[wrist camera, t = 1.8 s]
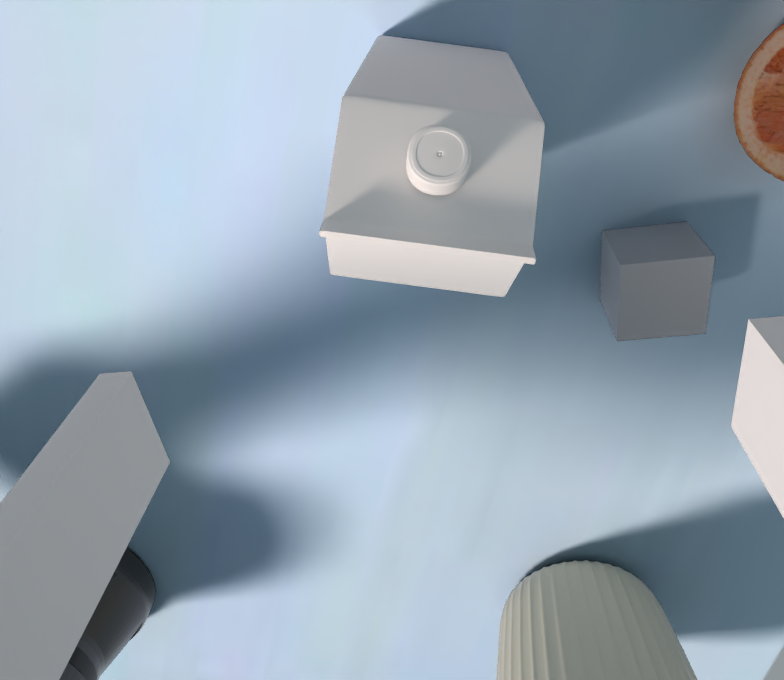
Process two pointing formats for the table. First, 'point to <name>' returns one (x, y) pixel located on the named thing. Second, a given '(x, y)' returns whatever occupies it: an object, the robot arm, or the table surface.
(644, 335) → the slate grey block
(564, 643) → the canister
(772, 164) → the fruit slice
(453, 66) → the milk carton
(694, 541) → the table surface
